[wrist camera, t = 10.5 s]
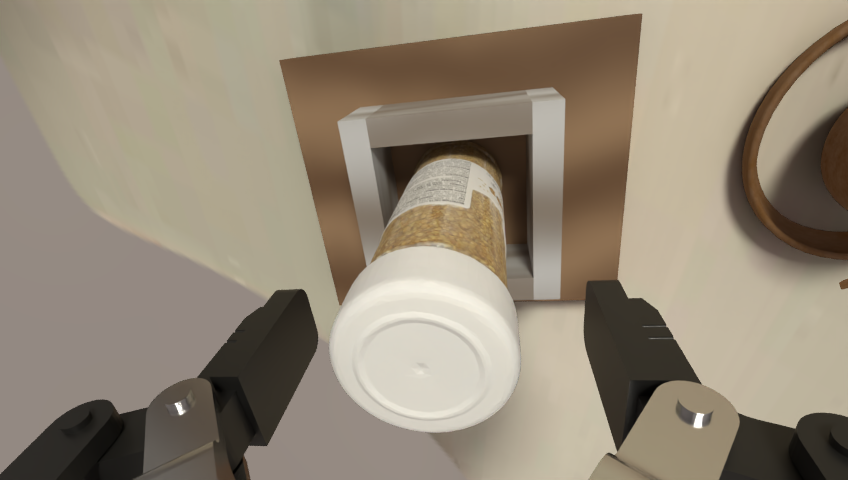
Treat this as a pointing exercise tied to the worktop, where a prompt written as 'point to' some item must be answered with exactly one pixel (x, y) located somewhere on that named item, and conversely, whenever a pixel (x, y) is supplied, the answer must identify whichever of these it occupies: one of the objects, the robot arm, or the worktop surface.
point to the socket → (479, 141)
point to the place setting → (840, 163)
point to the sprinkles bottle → (434, 302)
